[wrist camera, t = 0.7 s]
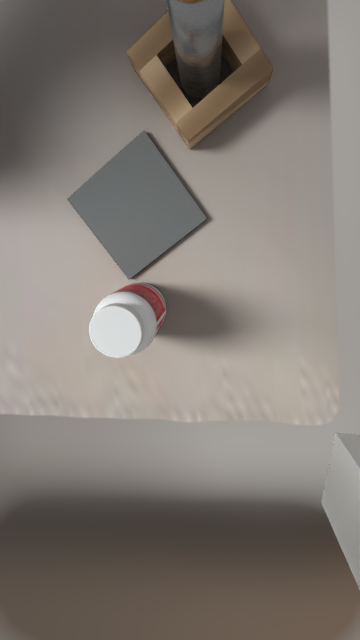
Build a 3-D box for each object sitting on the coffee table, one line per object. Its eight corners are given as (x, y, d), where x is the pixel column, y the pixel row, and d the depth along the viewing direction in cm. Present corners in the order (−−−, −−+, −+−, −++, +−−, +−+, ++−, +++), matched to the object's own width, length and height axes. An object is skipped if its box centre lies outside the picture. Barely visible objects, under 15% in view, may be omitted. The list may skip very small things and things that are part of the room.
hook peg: (167, 72, 33) (131, -75, 18) (205, 38, 32) (200, -148, 17) (195, 112, 33) (182, 3, 18) (232, 79, 33) (251, -64, 17)
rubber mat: (69, 199, 37) (67, 199, 36) (145, 132, 34) (144, 130, 34) (130, 278, 38) (128, 279, 37) (206, 218, 36) (206, 218, 35)
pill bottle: (117, 279, 38) (80, 293, 27) (169, 284, 38) (152, 300, 27) (115, 330, 40) (79, 362, 29) (165, 335, 39) (147, 370, 28)
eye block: (133, 68, 33) (126, 51, 30) (210, -5, 31) (210, -31, 28) (190, 149, 34) (188, 140, 31) (267, 83, 32) (273, 67, 29)
